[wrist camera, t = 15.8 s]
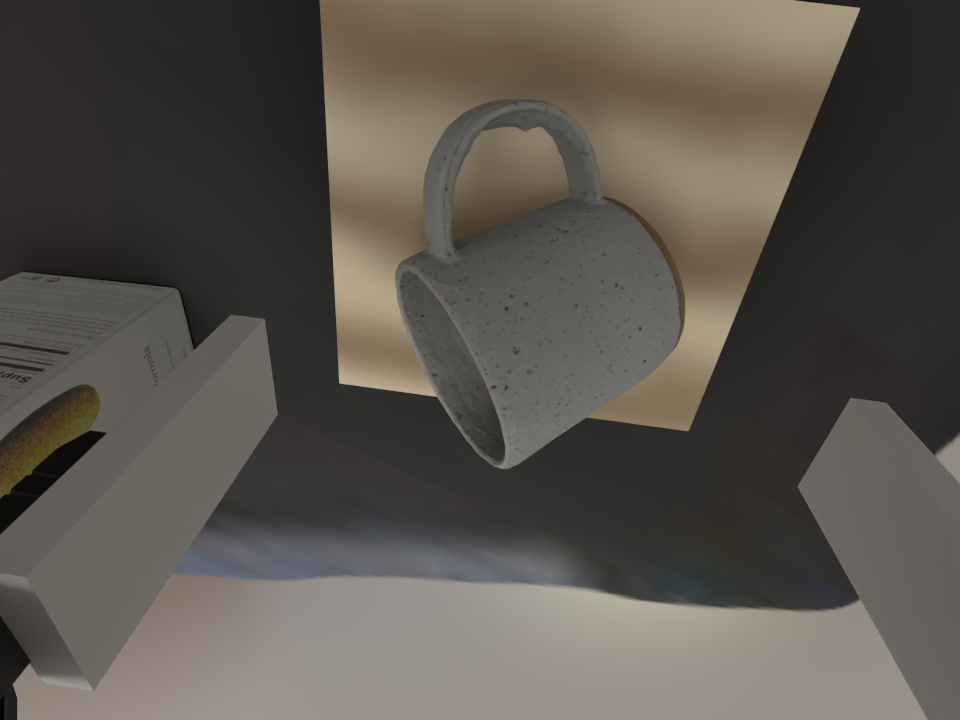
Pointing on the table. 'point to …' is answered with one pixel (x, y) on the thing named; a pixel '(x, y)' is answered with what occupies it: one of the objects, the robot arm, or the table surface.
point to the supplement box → (78, 359)
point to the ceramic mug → (535, 296)
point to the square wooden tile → (539, 166)
